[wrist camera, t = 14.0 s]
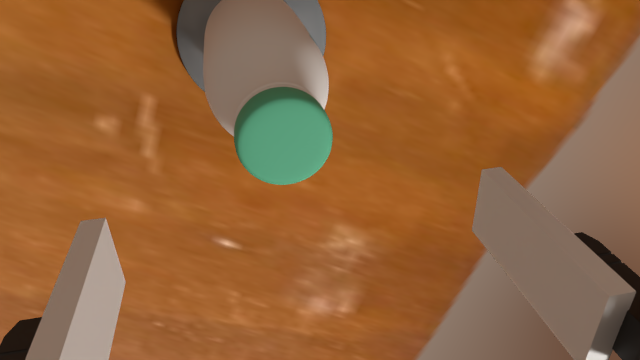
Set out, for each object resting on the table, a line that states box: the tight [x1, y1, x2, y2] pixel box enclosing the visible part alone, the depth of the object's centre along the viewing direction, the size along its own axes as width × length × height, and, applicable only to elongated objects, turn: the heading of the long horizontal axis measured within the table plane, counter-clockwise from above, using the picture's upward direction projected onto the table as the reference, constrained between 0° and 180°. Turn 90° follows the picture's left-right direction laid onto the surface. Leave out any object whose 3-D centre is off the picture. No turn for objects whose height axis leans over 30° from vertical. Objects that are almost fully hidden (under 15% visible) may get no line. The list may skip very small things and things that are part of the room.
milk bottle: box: [203, 0, 333, 185], centre depth 31 cm, size 8×8×20 cm
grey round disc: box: [177, 0, 326, 91], centre depth 39 cm, size 12×12×1 cm
